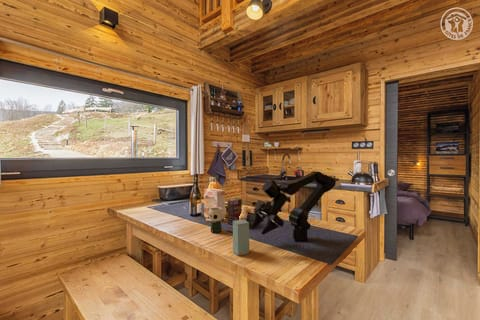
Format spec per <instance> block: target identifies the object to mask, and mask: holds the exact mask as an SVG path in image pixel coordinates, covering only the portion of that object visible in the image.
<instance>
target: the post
mask: <svg viewBox="0 0 480 320" xmlns="http://www.w3.org/2000/svg"><path fill="white" fill-rule="evenodd" d="M233 253H234V254H235V255H236V256H246V255H248V254H249V253H250V251H249V252H248V253H243V254H239V255H238V254H237V253H236V252H235V251H234V250H233Z"/></svg>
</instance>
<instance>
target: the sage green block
mask: <svg viewBox="0 0 480 320" xmlns="http://www.w3.org/2000/svg"><path fill="white" fill-rule="evenodd" d="M232 250H233V252H234V251H235V252H236V253H237V254H238V255H237V256H239V254H243V253H248V252H249V253H250V222H249V221H247V220H245V219H243V218H242V220H236V221H233V227H232ZM249 253H248V254H249Z"/></svg>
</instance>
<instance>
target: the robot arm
mask: <svg viewBox="0 0 480 320" xmlns="http://www.w3.org/2000/svg"><path fill="white" fill-rule="evenodd" d="M314 182H316V186H315V188H314V190H313V191H312V192H311V193H310V194H309V195H308V196H307V198H306V199H305V201H304V202H302V204H301V206H299V207H296V206H294V207H293V209H292V210H291V211H289V215H288V221H289V222H290V225H291V227H292V226H293V229H292V239H293V241H294V242H301V243H308V242H309V239H308V230H310V229H311V224H310V222H309V221H308V220H309V214H310V212H311V211H312V209H313V208H314V207H315V206H316V205H317V203H318V202H319V201H320V199H321V198H322V197H323V195H324V194H325V193H327V192H329V191H331V190H332V189H333V188H335V186H336V184H337V183H336V180H335V178H334V177H333V176H329V175H326V174H324V173H323V172H320V171H316V170H313V171H311V172H309V173H307V174H305V175H303V176H301V177H299V178H296V179H293V180H287V181H282V183H281V184H277V183H276V181H275V180H274V179H270V180H269V181H266V183H264V184H263V185H262V188H261V190H262V191H263V192H264V193H265V194H266V195H267V197H269V198H270V199H272V200H271V201H268V200H265V201H263V200H260V199H257V201H256V204H255V207H254V208H253V213H254V219H253V221H252V222H253V223H252V224H251V228H252V229H255V228H256V227H258V226H259V225H260V224H261V223H262V222H264V221H265V219H266V218H267V220H266V221H267V223H266V224H265V226H264V228H263V229H262V231H261V232H260V233H261V235H262V236H264V235H266V234H267V233H269V232H271V231H273V230H276V229H279V228H283V226H284V225H285V222H284V219H282V218H281V216H280V215H278V214H279V212H280V213H282V212H283V210H282V208H283V207H284V205H285V204H286V203H289V204H291V202H292V201H291V197H290V196H294V195H295V194H297V193H298V192H300V189H301V188H303V187H305V186H308V185H310V184H312V183H314ZM288 195H290V196H288Z"/></svg>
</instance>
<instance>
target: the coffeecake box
mask: <svg viewBox="0 0 480 320" xmlns="http://www.w3.org/2000/svg"><path fill="white" fill-rule="evenodd" d="M203 207H204V208H203V210H204V212H203V213H204V214H203V215H204V218H206V217H208V211H210V208H214V207H220V208H222V213H224V217H225V218H226V190H224V189H218V188H212V187H210V188H209V187H208V188H204V189H203ZM222 217H223V216H222Z"/></svg>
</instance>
